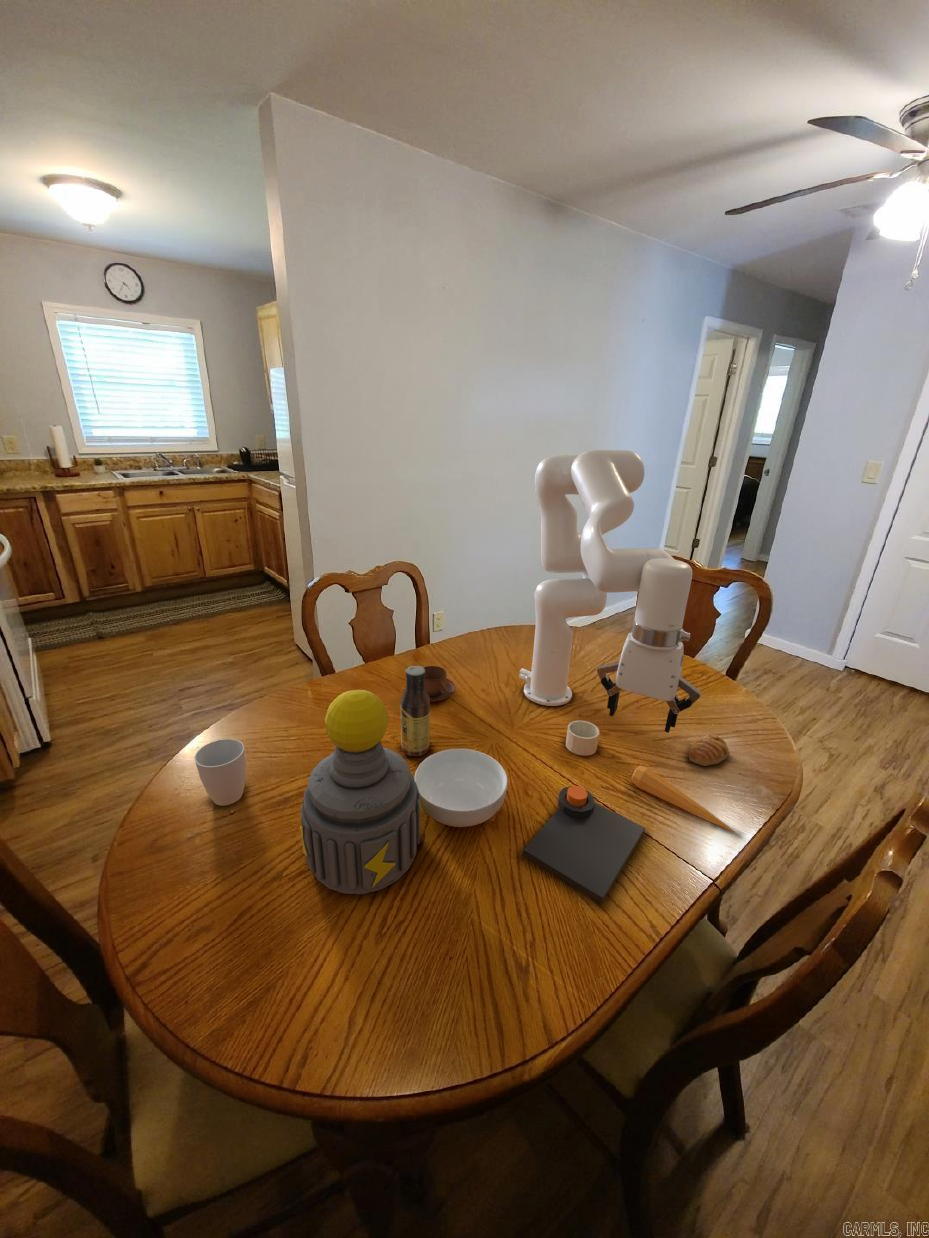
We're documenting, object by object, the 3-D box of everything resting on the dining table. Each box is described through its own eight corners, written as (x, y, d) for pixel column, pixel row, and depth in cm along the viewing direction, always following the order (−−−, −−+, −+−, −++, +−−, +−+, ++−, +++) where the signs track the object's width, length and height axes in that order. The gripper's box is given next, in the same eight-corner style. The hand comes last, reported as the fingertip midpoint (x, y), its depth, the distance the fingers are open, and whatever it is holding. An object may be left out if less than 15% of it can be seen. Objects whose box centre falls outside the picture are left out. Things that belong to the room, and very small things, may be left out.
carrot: (627, 786, 101) (628, 774, 98) (638, 770, 103) (640, 758, 100) (729, 848, 89) (735, 838, 86) (740, 829, 91) (745, 817, 88)
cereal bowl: (437, 855, 83) (437, 822, 80) (401, 792, 96) (400, 762, 93) (522, 822, 90) (525, 791, 87) (478, 767, 104) (479, 739, 101)
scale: (516, 851, 84) (517, 838, 83) (567, 793, 97) (568, 781, 96) (601, 904, 75) (604, 890, 74) (644, 832, 89) (647, 819, 88)
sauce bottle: (401, 741, 111) (400, 661, 104) (429, 740, 112) (430, 661, 104) (400, 759, 105) (398, 676, 97) (430, 759, 106) (431, 676, 98)
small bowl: (560, 747, 111) (562, 730, 109) (574, 733, 116) (576, 717, 114) (588, 759, 107) (591, 742, 105) (601, 745, 112) (604, 728, 110)
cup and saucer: (463, 690, 132) (464, 670, 130) (437, 711, 123) (437, 689, 120) (427, 677, 138) (427, 657, 136) (399, 696, 129) (399, 675, 126)
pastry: (709, 773, 104) (713, 758, 103) (679, 757, 109) (682, 742, 108) (730, 756, 110) (734, 742, 108) (700, 742, 114) (704, 727, 113)
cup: (260, 787, 96) (253, 744, 92) (229, 816, 89) (220, 771, 85) (226, 777, 98) (218, 734, 95) (193, 804, 91) (183, 760, 88)
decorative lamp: (398, 796, 95) (395, 655, 84) (439, 872, 80) (442, 711, 68) (295, 828, 87) (276, 677, 75) (319, 920, 71) (299, 747, 60)
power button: (563, 800, 92) (564, 793, 91) (572, 790, 94) (573, 782, 94) (581, 809, 90) (582, 802, 89) (589, 799, 92) (590, 791, 92)
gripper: (714, 637, 83) (693, 725, 89) (610, 616, 91) (597, 698, 97) (710, 653, 77) (688, 746, 83) (598, 629, 84) (586, 716, 91)
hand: (639, 720), depth 90 cm, fingers open, 9 cm apart
